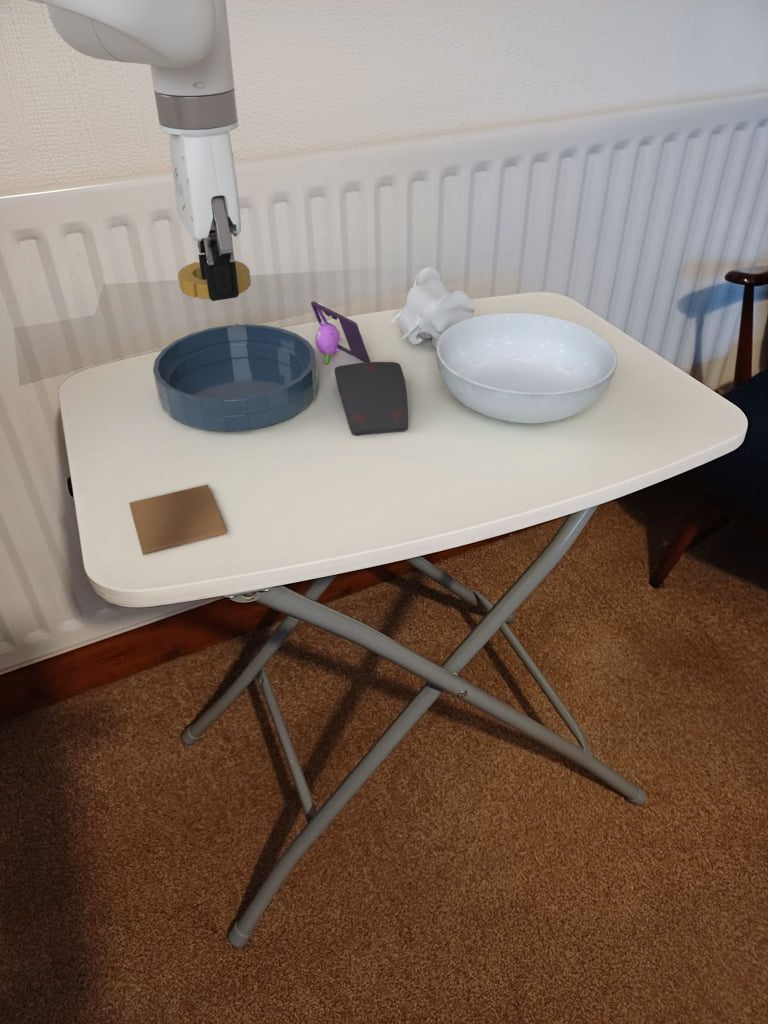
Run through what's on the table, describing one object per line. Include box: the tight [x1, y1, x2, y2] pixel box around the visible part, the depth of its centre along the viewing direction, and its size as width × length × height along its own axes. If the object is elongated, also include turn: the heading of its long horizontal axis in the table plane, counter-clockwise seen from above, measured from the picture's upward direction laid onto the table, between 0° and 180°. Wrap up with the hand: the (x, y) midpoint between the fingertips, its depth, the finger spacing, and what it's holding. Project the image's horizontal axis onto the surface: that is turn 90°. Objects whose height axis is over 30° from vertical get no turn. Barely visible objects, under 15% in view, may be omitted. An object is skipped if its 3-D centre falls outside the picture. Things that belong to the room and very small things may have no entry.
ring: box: [177, 260, 252, 300], centre depth 89 cm, size 8×8×2 cm
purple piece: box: [310, 300, 371, 365], centre depth 102 cm, size 7×5×9 cm
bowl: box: [152, 323, 319, 432], centre depth 96 cm, size 19×19×4 cm
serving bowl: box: [435, 311, 619, 424], centre depth 93 cm, size 21×21×7 cm
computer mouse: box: [334, 361, 409, 436], centre depth 93 cm, size 8×14×4 cm, turn 9°
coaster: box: [128, 484, 227, 556], centre depth 77 cm, size 8×8×1 cm
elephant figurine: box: [387, 266, 476, 349], centre depth 105 cm, size 10×12×9 cm
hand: (221, 292), depth 87 cm, fingers closed on ring, 2 cm apart
